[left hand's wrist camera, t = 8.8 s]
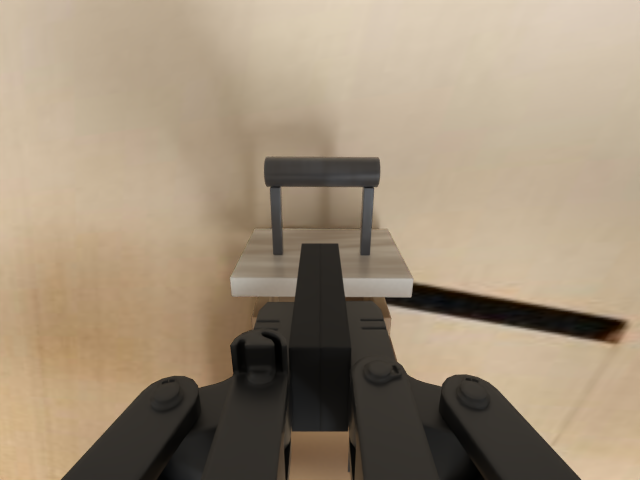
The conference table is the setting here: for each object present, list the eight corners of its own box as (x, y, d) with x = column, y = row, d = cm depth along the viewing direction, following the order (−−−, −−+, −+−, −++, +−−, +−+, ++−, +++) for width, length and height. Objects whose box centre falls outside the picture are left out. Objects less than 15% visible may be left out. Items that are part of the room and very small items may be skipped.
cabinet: (256, 318, 31) (228, 413, 22) (385, 319, 31) (413, 414, 22) (267, 481, 38) (250, 602, 29) (371, 481, 38) (387, 603, 29)
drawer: (249, 146, 24) (218, 167, 17) (394, 147, 24) (426, 168, 17) (267, 419, 34) (252, 509, 26) (372, 420, 34) (387, 509, 26)
